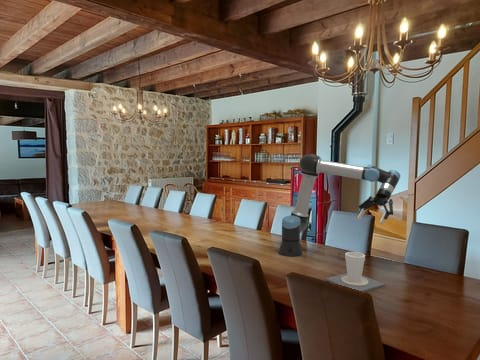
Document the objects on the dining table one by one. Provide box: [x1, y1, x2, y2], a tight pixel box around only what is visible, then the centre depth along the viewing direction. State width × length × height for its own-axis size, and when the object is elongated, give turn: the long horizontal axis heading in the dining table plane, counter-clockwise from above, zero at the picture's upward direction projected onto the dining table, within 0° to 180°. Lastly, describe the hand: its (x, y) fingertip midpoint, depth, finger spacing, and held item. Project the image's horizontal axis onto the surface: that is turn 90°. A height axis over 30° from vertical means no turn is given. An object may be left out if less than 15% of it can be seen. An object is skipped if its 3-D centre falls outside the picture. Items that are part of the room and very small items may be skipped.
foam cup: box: [344, 251, 366, 282], centre depth 174 cm, size 10×9×13 cm
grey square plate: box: [325, 272, 386, 293], centre depth 175 cm, size 20×20×2 cm
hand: (369, 220), depth 195 cm, fingers open, 13 cm apart
